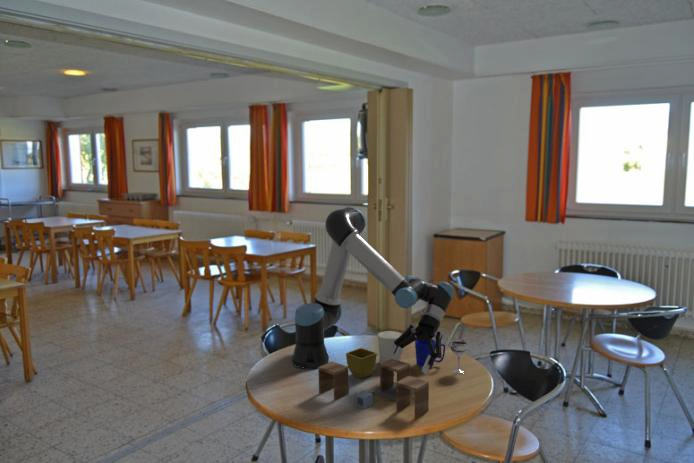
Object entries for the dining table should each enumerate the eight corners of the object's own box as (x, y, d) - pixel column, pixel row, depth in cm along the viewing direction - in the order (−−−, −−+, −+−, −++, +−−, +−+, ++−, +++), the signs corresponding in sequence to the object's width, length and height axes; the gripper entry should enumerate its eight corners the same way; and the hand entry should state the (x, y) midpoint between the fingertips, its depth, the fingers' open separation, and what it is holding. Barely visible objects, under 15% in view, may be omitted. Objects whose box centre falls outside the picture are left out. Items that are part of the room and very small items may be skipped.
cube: (355, 405, 182) (355, 394, 182) (363, 401, 185) (363, 390, 185) (364, 409, 180) (364, 398, 179) (372, 405, 183) (372, 393, 182)
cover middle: (380, 391, 192) (380, 364, 191) (392, 384, 197) (391, 358, 196) (398, 397, 187) (398, 369, 186) (410, 390, 192) (410, 364, 191)
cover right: (396, 411, 178) (396, 382, 177) (408, 403, 183) (408, 375, 182) (416, 418, 173) (416, 388, 171) (428, 410, 178) (428, 381, 176)
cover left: (318, 393, 192) (318, 367, 190) (332, 387, 197) (331, 361, 196) (335, 400, 186) (334, 372, 185) (348, 393, 192) (348, 366, 190)
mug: (444, 370, 211) (445, 345, 210) (414, 368, 214) (414, 344, 212) (445, 362, 219) (445, 339, 218) (415, 360, 222) (415, 337, 220)
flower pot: (361, 369, 214) (361, 347, 213) (377, 375, 208) (377, 352, 207) (345, 375, 208) (345, 353, 207) (361, 381, 202) (361, 358, 200)
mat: (371, 392, 192) (371, 391, 192) (391, 382, 201) (391, 381, 201) (398, 402, 184) (398, 401, 184) (418, 391, 193) (418, 390, 193)
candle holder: (407, 364, 218) (407, 335, 217) (388, 369, 213) (388, 340, 211) (391, 356, 226) (391, 329, 225) (373, 362, 221) (373, 333, 219)
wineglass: (471, 373, 208) (471, 343, 206) (455, 375, 206) (456, 345, 204) (461, 367, 214) (462, 338, 213) (446, 369, 212) (447, 340, 210)
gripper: (463, 330, 200) (441, 381, 191) (409, 317, 217) (386, 364, 208) (456, 319, 195) (432, 371, 186) (401, 308, 212) (377, 355, 203)
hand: (408, 368), depth 197 cm, fingers open, 13 cm apart
